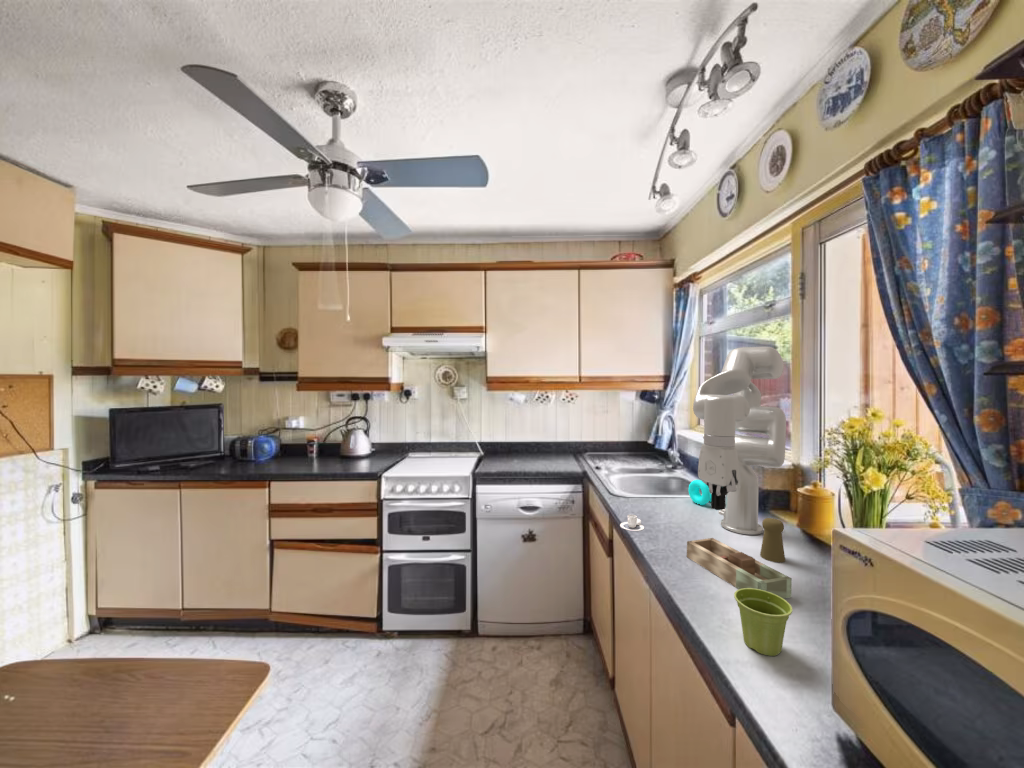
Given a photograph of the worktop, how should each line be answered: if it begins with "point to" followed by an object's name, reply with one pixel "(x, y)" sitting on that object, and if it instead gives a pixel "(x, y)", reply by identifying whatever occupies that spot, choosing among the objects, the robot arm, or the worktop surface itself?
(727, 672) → the worktop surface
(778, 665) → the worktop surface
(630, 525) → the teacup and saucer
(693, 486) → the donuts
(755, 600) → the plant pot
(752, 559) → the block
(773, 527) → the cork
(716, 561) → the box
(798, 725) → the worktop surface
